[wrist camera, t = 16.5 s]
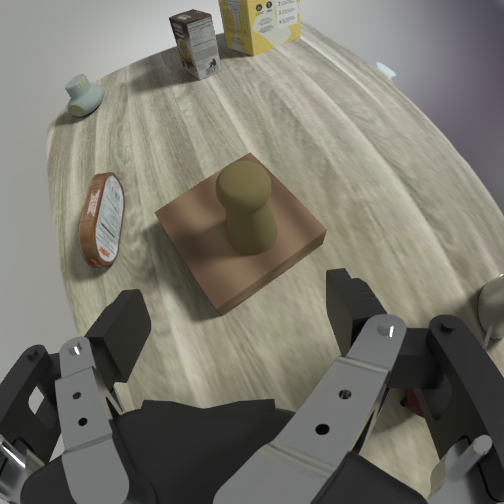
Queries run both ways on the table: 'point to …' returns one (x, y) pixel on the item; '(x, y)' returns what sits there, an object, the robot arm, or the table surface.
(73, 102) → the air freshener
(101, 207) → the tin
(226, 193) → the cork
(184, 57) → the brown snack box
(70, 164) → the table surface
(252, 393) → the table surface
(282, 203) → the walnut base block
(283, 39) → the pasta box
